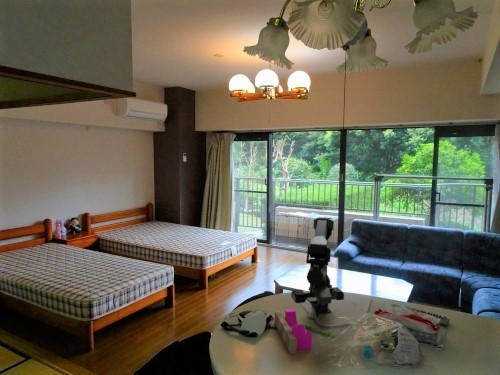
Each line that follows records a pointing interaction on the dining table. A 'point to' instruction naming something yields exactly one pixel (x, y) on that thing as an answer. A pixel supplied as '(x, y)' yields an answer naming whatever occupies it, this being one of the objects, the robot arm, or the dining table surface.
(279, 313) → the batten
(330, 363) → the dining table surface
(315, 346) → the dining table surface
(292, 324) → the toy block
